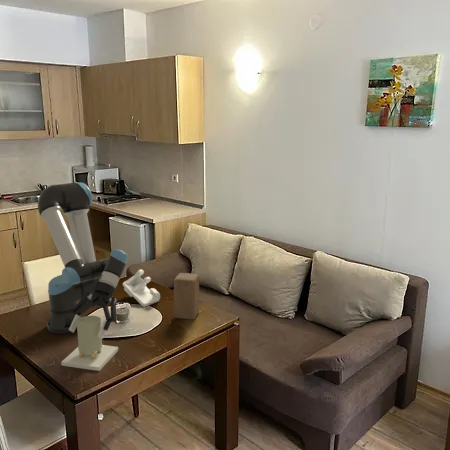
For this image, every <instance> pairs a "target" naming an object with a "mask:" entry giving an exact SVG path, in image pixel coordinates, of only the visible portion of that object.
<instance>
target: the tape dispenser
mask: <svg viewBox="0 0 450 450" xmlns="http://www.w3.org/2000/svg"><path fill="white" fill-rule="evenodd" d="M144 273H145V271H144V270H143V269H142V268H141V269H138V270H137V271H136V272H135V273H134V275H133V276H131V277H129V278H128V279H127V280H125V281H124V282H123V283H122V287H124V288H123V290H124V291H125V292H126V293H127V295H128V296H129V297H130V298H132V297H133V298H134V299H135V300H136V301H137V302H138V303H139V305H141V307H144V308H146V307H149V306H151V305H153V304H156V303H157V302H159V301H160V299H161V294H160V292H159V291H158V290H157V289H156V288H155V287H154V288H153V287H152V288H148V286H147V284H148V283H150V282H151V281H152V278H151V277H150V276H145V277H144V278H142V277H141V276H143V275H144ZM145 306H146V307H145Z"/></svg>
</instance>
